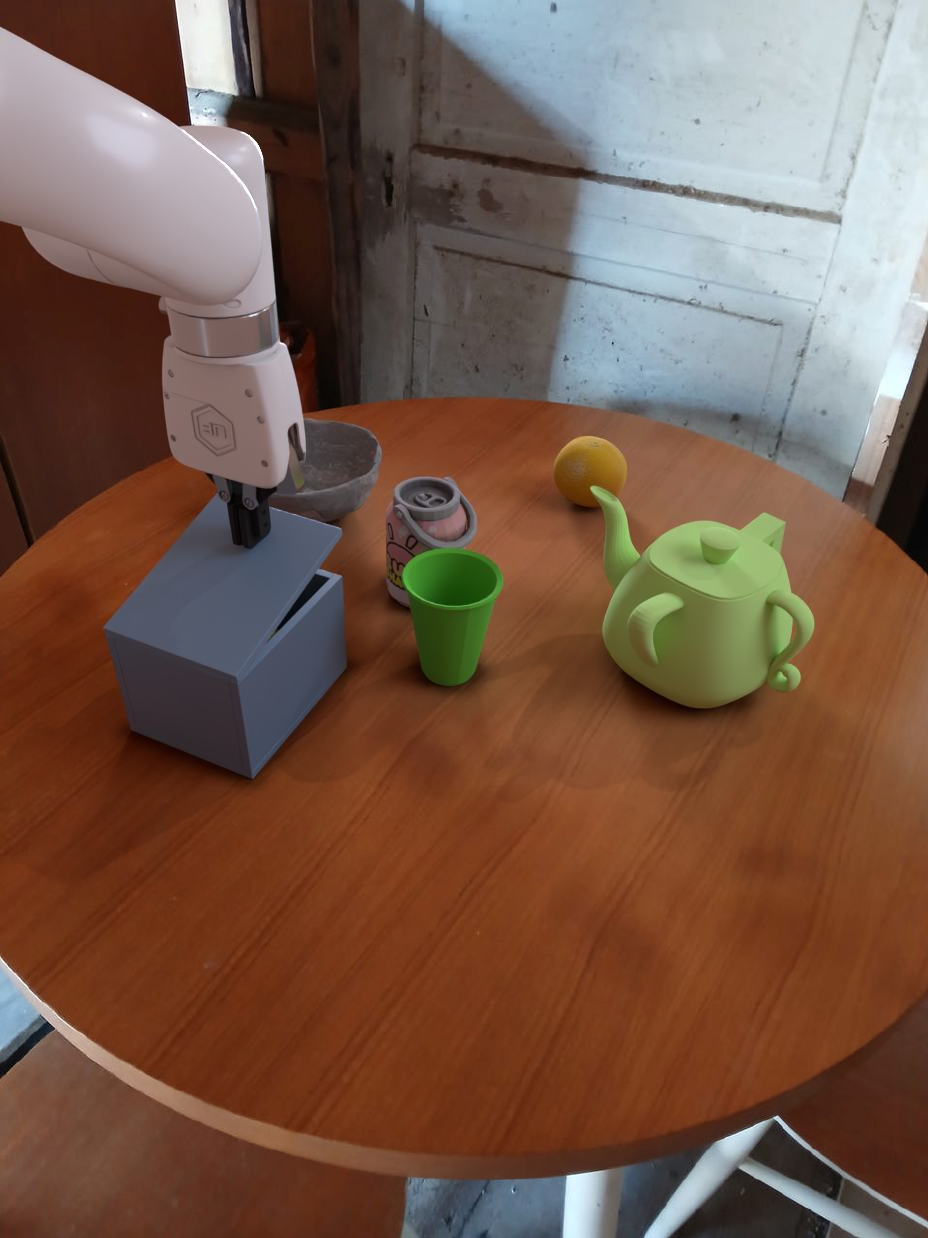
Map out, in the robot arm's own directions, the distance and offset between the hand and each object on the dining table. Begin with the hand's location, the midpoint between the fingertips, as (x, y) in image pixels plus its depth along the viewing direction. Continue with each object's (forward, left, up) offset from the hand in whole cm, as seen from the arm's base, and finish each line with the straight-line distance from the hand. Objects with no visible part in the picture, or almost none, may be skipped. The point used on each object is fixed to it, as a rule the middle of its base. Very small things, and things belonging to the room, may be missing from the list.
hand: (252, 538), depth 76 cm
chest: (-4, 0, -15) cm, 16 cm away
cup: (+8, -15, -15) cm, 23 cm away
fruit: (+44, -17, -15) cm, 50 cm away
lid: (-4, 0, -2) cm, 4 cm away
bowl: (+26, +12, -15) cm, 32 cm away
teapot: (+21, -34, -15) cm, 43 cm away
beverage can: (+18, -8, -15) cm, 25 cm away
